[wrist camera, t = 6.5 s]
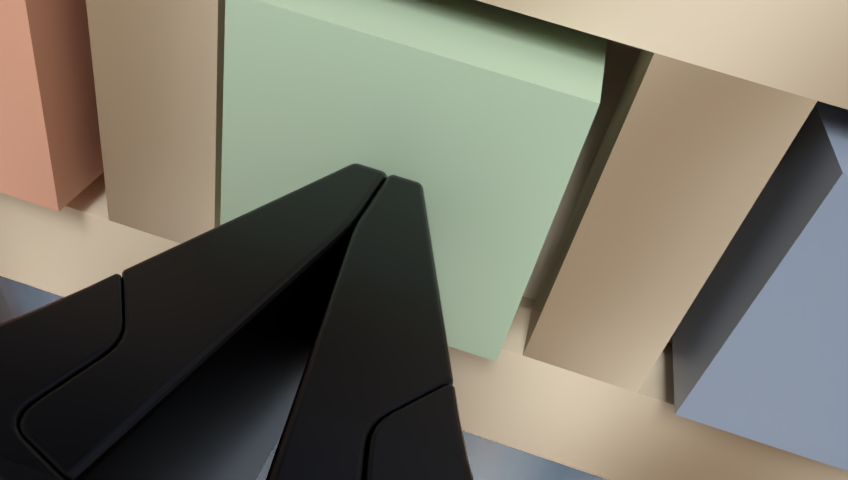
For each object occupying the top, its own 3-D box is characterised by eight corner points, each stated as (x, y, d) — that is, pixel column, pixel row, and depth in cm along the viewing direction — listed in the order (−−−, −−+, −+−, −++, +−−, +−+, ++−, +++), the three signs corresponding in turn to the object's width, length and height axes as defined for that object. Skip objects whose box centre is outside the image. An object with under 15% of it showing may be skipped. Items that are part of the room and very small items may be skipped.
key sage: (610, 15, 9) (600, 103, 7) (521, 250, 12) (496, 361, 10) (313, -72, 9) (226, -9, 7) (288, 176, 12) (219, 270, 10)
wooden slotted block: (1335, -56, 9) (1714, 85, 6) (886, 400, 14) (950, 594, 11) (-157, -455, 10) (-518, -519, 7) (-29, 107, 16) (-194, 210, 13)
